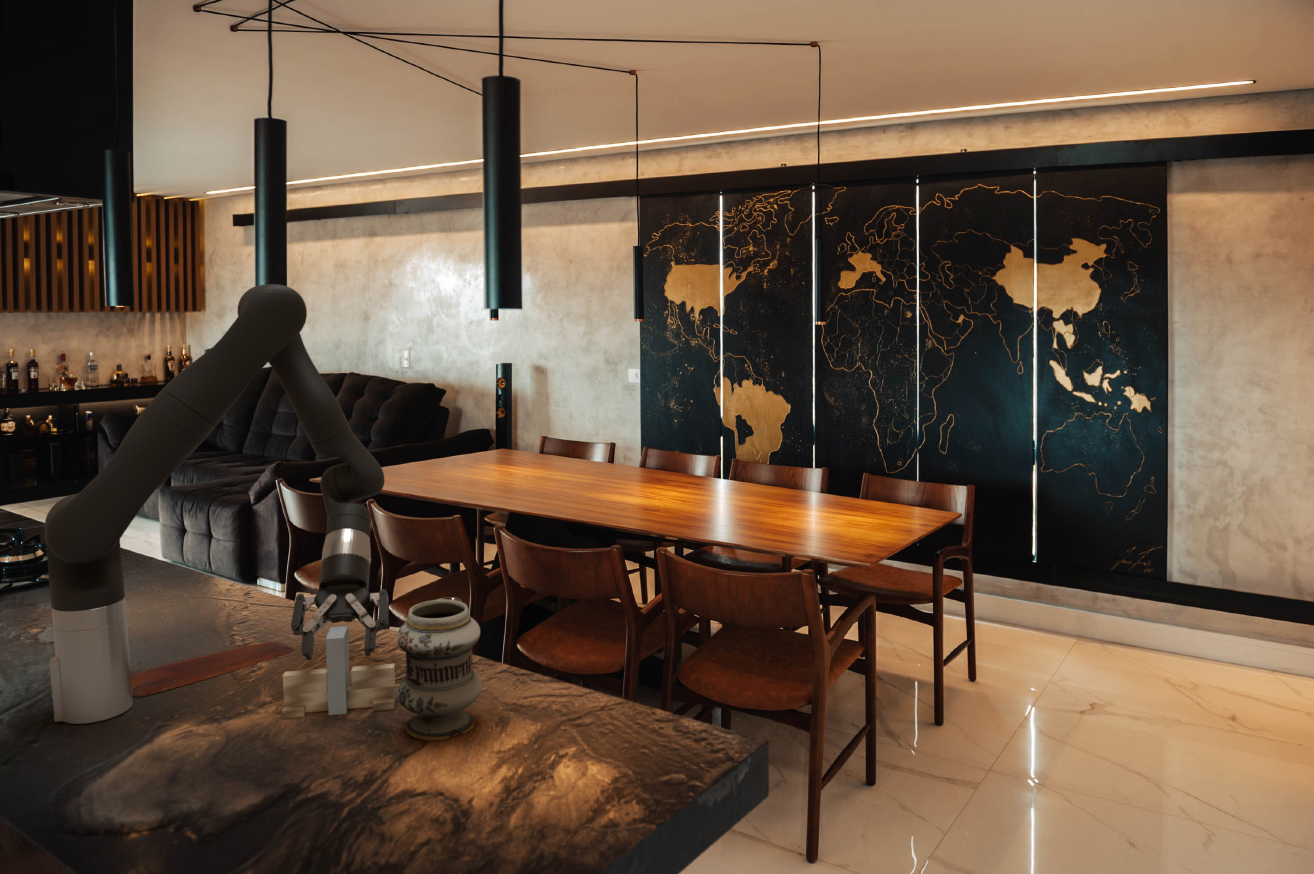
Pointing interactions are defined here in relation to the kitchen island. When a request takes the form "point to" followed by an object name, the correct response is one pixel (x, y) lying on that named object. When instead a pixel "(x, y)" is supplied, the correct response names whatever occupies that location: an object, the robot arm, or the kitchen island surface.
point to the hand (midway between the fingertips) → (338, 656)
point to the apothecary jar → (439, 669)
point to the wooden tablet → (203, 668)
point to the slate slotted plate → (337, 669)
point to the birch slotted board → (366, 690)
